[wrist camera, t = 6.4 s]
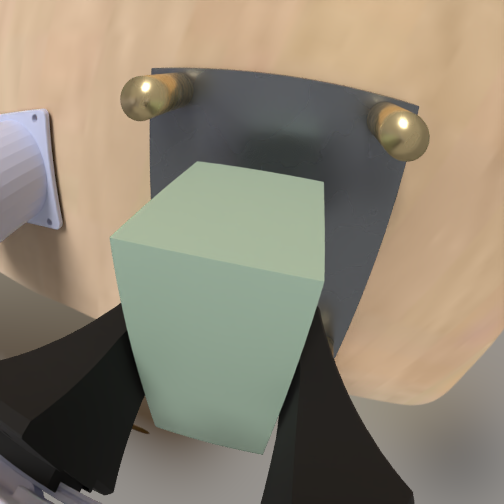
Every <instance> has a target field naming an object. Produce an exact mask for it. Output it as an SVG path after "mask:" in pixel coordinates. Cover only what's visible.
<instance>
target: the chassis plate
mask: <svg viewBox="0 0 504 504" xmlns="http://www.w3.org/2000/svg"><path fill="white" fill-rule="evenodd" d="M120 100H121V106H122V109H123V111H124V113H125V114H126V115H127V116H128V117H129V118H131V119H133V120H136V121H145V120H148V119H150V185H151V199H153V198H154V197H155V196H156V195H157V194H158V193H160V192H161V191H162V190H163V189H164V188H165V187H167V186H168V185H169V184H170V183H171V182H173V181H174V180H175V179H176V178H177V177H179V176H180V175H181V174H182V173H183V172H185V171H186V170H187V169H188V168H190V167H191V166H192V165H193V164H195V163H196V162H197V161H199V162H207V163H214V164H222V165H229V166H236V167H242V168H249V169H255V170H261V171H267V172H273V173H279V174H285V175H290V176H296V177H301V178H306V179H311V180H316V181H321V182H324V216H325V274H324V285H323V288H322V291H321V294H320V298H319V301H318V304H317V306H318V307H319V309H320V312H321V317H322V322H323V326H324V329H325V333H326V336H327V340H328V343H329V346H330V349H331V352H332V355H333V358H335V356H336V354H337V352H338V350H339V348H340V346H341V343H342V341H343V339H344V337H345V334H346V332H347V330H348V328H349V325H350V323H351V321H352V318H353V316H354V313H355V311H356V309H357V306H358V304H359V301H360V299H361V296H362V294H363V291H364V289H365V286H366V284H367V281H368V278H369V276H370V273H371V270H372V268H373V265H374V262H375V260H376V257H377V254H378V251H379V248H380V245H381V243H382V240H383V237H384V234H385V231H386V228H387V225H388V222H389V219H390V215H391V212H392V209H393V206H394V203H395V199H396V196H397V193H398V189H399V186H400V182H401V179H402V175H403V172H404V168H405V164H406V162H407V161H413V160H416V159H418V158H419V157H421V156H422V155H423V154H424V152H425V151H426V149H427V147H428V144H429V130H428V127H427V125H426V124H425V122H424V121H423V120H422V119H421V118H420V117H419V116H418V115H417V114H418V109H419V106H417V105H414V104H412V103H408V102H405V101H402V100H398V99H395V98H391V97H388V96H384V95H380V94H377V93H373V92H369V91H365V90H360V89H356V88H352V87H347V86H343V85H338V84H333V83H328V82H323V81H317V80H312V79H306V78H300V77H293V76H286V75H279V74H271V73H262V72H253V71H242V70H228V69H211V68H152V71H151V75H146V76H138V77H135V78H132V79H131V80H129V81H128V82H127V83H126V84H125V86H124V87H123V89H122V92H121V98H120Z"/></svg>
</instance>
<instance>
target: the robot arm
mask: <svg viewBox="0 0 504 504" xmlns="http://www.w3.org/2000/svg"><path fill="white" fill-rule="evenodd" d="M36 116H37V118H36ZM26 222H27V223H31V224H35V225H40V226H44V227H48V228H53V229H59V228H60V227H61V226H62V225H63V221H62V216H61V211H60V205H59V199H58V193H57V187H56V180H55V173H54V165H53V157H52V147H51V136H50V123H49V113H48V111H47V110H46V109H35V110H26V111H18V112H11V113H4V114H0V242H2V241H3V240H4V239H5V238H7V237H8V236H9V235H10V234H12V233H13V232H14V231H16V230H17V229H18V228H19V227H21V226H22V225H23V224H25V223H26ZM144 396H145V393H144V390H143V386H142V383H141V380H140V376H139V373H138V369H137V366H136V362H135V358H134V355H133V351H132V347H131V343H130V339H129V335H128V331H127V327H126V322H125V318H124V313H123V309H122V304H121V303H120V304H119V305H117V306H116V307H115V308H113V309H112V310H110V311H108V312H107V313H105V314H104V315H102V316H101V317H99V318H98V319H96V320H95V321H93V322H91V323H90V324H88V325H86V326H84V327H83V328H81V329H79V330H77V331H75V332H73V333H71V334H69V335H67V336H66V337H63V338H61V339H59V340H57V341H54V342H52V343H50V344H47V345H45V346H43V347H41V348H38V349H36V350H33V351H30V352H27V353H24V354H21V355H18V356H15V357H11V358H8V359H4V360H0V504H54V503H52V502H51V501H49V500H47V499H45V498H44V495H43V491H44V492H46V493H48V494H49V495H51V496H53V497H54V498H56V499H57V500H59V501H61V502H63V503H64V504H101V503H99V502H97V501H95V500H93V499H91V498H89V497H87V496H85V495H83V494H82V493H80V491H81V489H84V490H86V491H88V492H89V493H91V492H92V490H94V491H96V492H98V493H100V494H103V495H108V494H111V493H113V492H114V488H115V484H116V479H117V476H118V471H119V468H120V464H121V460H122V457H123V454H124V450H125V447H126V444H127V440H128V438H129V435H130V432H131V429H132V426H133V423H134V421H135V418H136V415H137V413H138V410H139V407H140V405H141V402H142V400H143V398H144ZM42 490H43V491H42ZM261 504H414V497H413V492H412V490H411V489H410V488H409V487H408V486H407V485H406V483H405V482H404V481H403V480H402V479H401V477H400V476H399V475H398V474H397V473H396V471H395V470H394V469H393V468H392V466H391V465H390V463H389V462H388V460H387V459H386V458H385V456H384V455H383V454H382V452H381V451H380V449H379V448H378V446H377V445H376V443H375V441H374V440H373V438H372V437H371V435H370V433H369V432H368V430H367V429H366V427H365V425H364V424H363V422H362V420H361V418H360V416H359V415H358V413H357V411H356V409H355V407H354V405H353V403H352V401H351V399H350V397H349V395H348V392H347V390H346V388H345V386H344V383H343V381H342V379H341V376H340V374H339V371H338V369H337V366H336V363H335V361H334V358H333V355H332V352H331V349H330V346H329V343H328V340H327V336H326V333H325V329H324V326H323V322H322V317H321V312H320V309H319V307H318V306H317V307H316V311H315V314H314V317H313V320H312V323H311V326H310V329H309V332H308V335H307V338H306V341H305V344H304V347H303V350H302V353H301V356H300V359H299V362H298V364H297V367H296V370H295V373H294V376H293V378H292V381H291V384H290V387H289V389H288V392H287V395H286V397H285V400H284V403H283V405H282V408H281V411H280V413H279V420H278V429H277V435H276V441H275V446H274V451H273V455H272V460H271V464H270V468H269V472H268V477H267V481H266V485H265V489H264V493H263V497H262V501H261Z"/></svg>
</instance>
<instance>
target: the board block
mask: <svg viewBox="0 0 504 504" xmlns="http://www.w3.org/2000/svg"><path fill="white" fill-rule="evenodd" d="M110 244H111V250H112V256H113V262H114V268H115V274H116V279H117V284H118V290H119V295H120V300H121V304H122V309H123V313H124V318H125V322H126V327H127V331H128V335H129V339H130V343H131V347H132V351H133V355H134V358H135V362H136V366H137V369H138V373H139V376H140V380H141V383H142V386H143V390H144V393H145V396H146V399H147V402H148V405H149V408H150V411H151V414H152V417H153V420H154V423H155V426H156V427H159V428H162V429H165V430H168V431H171V432H174V433H177V434H181V435H184V436H187V437H191V438H194V439H198V440H201V441H205V442H209V443H213V444H216V445H221V446H225V447H229V448H233V449H238V450H243V451H247V452H252V453H257V454H262V455H263V453H264V450H265V448H266V446H267V443H268V440H269V438H270V436H271V433H272V431H273V428H274V426H275V423H276V421H277V418H278V416H279V413H280V411H281V408H282V405H283V403H284V400H285V397H286V395H287V392H288V389H289V387H290V384H291V381H292V378H293V376H294V373H295V370H296V367H297V364H298V362H299V359H300V356H301V353H302V350H303V347H304V344H305V341H306V338H307V335H308V332H309V329H310V326H311V323H312V320H313V317H314V314H315V311H316V307H317V304H318V301H319V298H320V294H321V291H322V288H323V285H324V274H325V216H324V182H321V181H316V180H311V179H306V178H301V177H296V176H290V175H285V174H279V173H273V172H267V171H261V170H255V169H249V168H242V167H236V166H229V165H222V164H214V163H207V162H199V161H197V162H196V163H195V164H193V165H192V166H191V167H190V168H188V169H187V170H186V171H185V172H183V173H182V174H181V175H180V176H179V177H177V178H176V179H175V180H174V181H173V182H171V183H170V184H169V185H168V186H167V187H165V188H164V189H163V190H162V191H161V192H160V193H158V194H157V195H156V196H155V197H154V198H153V199H151V200H150V201H149V202H148V203H147V204H146V205H145V206H143V207H142V208H141V209H140V210H139V211H138V212H137V213H136V214H135V215H133V216H132V217H131V218H130V219H129V220H128V221H127V222H126V223H125V224H124V225H123V226H121V227H120V228H119V229H118V230H117V231H116V232H115V233H114V234H113V235H112V236H111V237H110Z"/></svg>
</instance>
